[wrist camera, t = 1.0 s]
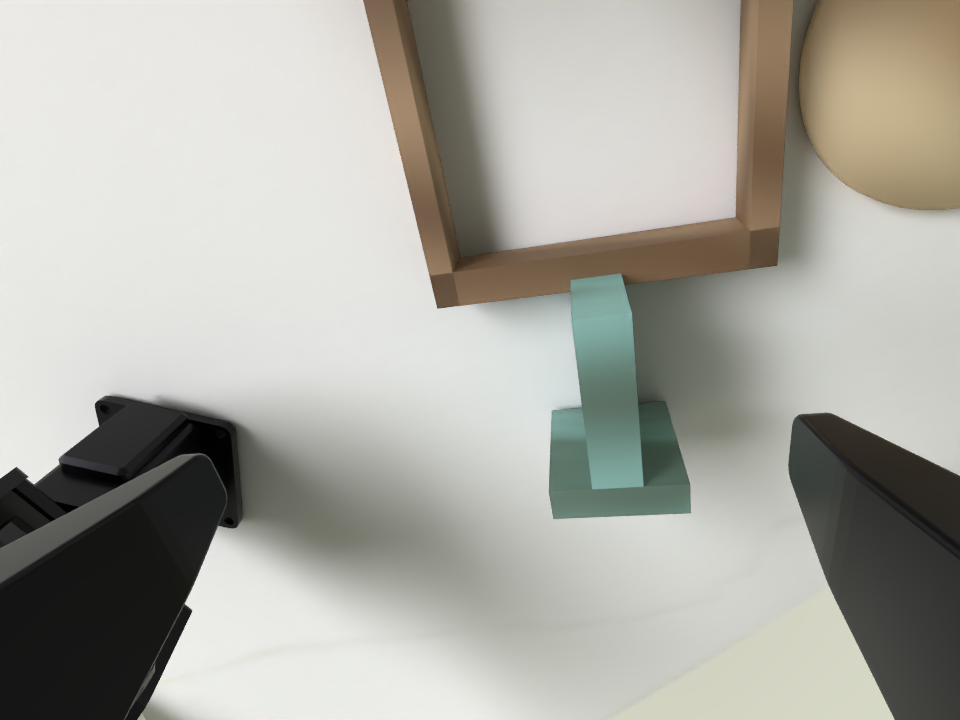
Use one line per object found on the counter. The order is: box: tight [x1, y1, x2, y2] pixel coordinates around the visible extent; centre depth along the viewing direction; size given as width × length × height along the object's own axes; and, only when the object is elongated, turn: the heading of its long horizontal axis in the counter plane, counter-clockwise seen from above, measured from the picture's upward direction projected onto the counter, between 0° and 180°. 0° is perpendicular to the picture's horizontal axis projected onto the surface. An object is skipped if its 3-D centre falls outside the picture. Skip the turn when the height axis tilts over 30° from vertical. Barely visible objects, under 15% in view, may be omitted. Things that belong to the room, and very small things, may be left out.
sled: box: [363, 0, 793, 519], centre depth 14 cm, size 25×11×5 cm, turn 11°
